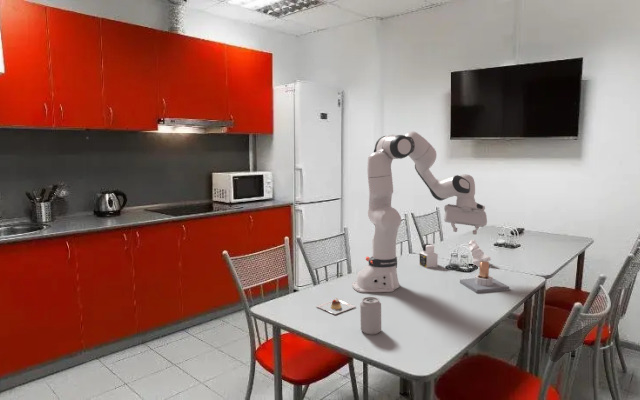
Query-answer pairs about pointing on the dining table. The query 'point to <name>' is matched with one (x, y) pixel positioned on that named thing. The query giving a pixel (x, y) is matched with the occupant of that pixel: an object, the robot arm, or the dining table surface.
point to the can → (370, 315)
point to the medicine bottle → (428, 256)
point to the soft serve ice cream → (477, 253)
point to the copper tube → (484, 270)
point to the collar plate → (483, 288)
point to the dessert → (336, 305)
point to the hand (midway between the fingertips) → (464, 232)
